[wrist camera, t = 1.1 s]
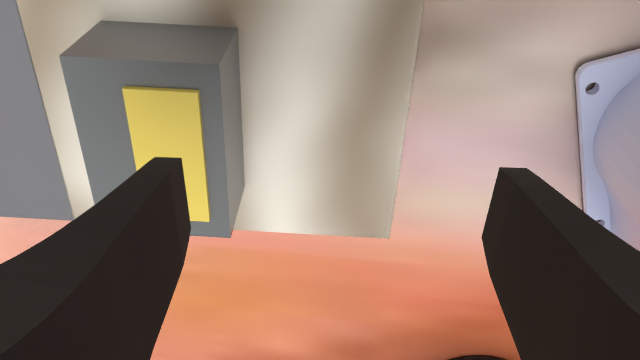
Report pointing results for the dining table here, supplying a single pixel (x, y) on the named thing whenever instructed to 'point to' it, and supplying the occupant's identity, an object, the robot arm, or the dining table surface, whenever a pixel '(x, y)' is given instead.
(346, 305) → the dining table surface
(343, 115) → the subfloor plank
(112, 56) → the block
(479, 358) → the travel mug
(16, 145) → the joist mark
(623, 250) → the robot arm
